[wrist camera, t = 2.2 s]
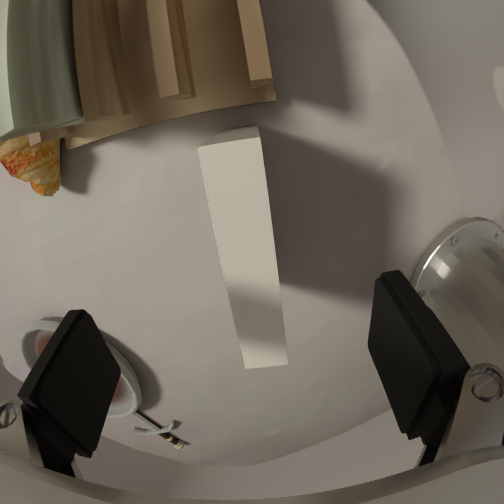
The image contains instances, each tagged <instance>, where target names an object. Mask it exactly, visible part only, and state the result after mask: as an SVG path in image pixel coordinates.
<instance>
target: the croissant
mask: <svg viewBox="0 0 504 504" xmlns="http://www.w3.org/2000/svg"><path fill="white" fill-rule="evenodd" d="M60 142H61V139H60V138H59V139H56V140H52V141H48V142H44V143H41V144H37V145H34V146H31V147H30V142H29V137H28V135H24V136H20V137H16V138H12V139H9V140H5V141H2V142H0V162H1V163H2V164H3V165H4V167H5V168H6V169H7V171H8V172H9V174H10V175H11V176H12V177H16V178H18V179H21V180H22V181H24V182H25V181H30V183H31V186H32V188H33V190H34V191H35V192H36V193H38V194H40V195H42V196H53V194H55V193H56V191H57V190H59V187H60V182H61V173H60V167H61V165H60Z"/></svg>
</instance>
